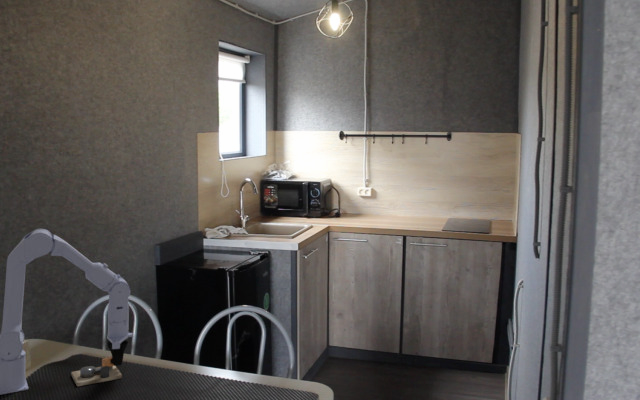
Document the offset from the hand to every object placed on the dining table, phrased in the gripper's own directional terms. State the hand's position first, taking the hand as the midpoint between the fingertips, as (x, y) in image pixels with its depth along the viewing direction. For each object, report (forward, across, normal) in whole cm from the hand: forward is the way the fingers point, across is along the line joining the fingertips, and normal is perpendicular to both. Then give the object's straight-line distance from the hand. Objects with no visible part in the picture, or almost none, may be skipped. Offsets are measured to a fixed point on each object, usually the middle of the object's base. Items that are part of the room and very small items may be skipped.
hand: (117, 364), depth 158 cm
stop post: (+3, -4, +3) cm, 6 cm away
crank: (+1, -1, +5) cm, 5 cm away
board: (+3, -1, +6) cm, 6 cm away
